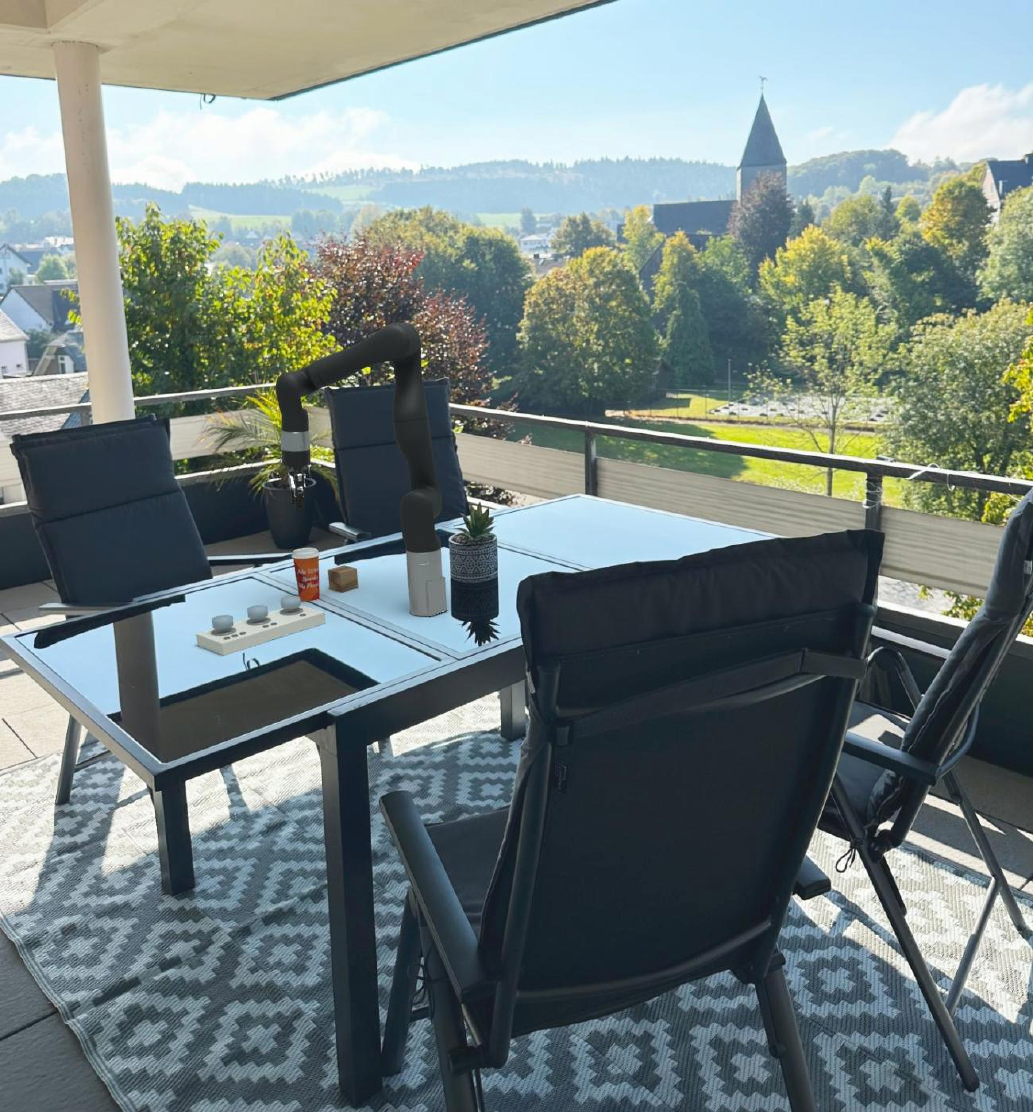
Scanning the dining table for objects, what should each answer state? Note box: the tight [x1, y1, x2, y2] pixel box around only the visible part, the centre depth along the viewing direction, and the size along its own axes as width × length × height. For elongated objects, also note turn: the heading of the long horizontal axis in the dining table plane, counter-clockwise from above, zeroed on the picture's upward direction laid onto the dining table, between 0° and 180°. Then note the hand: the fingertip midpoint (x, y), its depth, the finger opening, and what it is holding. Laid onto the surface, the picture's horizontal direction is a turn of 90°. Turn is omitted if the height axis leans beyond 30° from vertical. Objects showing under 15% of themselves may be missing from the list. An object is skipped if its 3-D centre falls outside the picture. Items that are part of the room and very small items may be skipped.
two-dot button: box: [246, 604, 269, 619], centre depth 253 cm, size 5×5×2 cm
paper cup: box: [291, 547, 321, 602], centre depth 281 cm, size 8×8×14 cm
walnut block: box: [327, 565, 359, 594], centre depth 290 cm, size 6×6×6 cm
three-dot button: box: [211, 614, 234, 629], centre depth 246 cm, size 5×5×2 cm
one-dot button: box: [279, 595, 302, 609], centre depth 260 cm, size 5×5×2 cm
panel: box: [195, 605, 326, 656], centre depth 253 cm, size 12×30×3 cm, turn 137°
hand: (297, 507), depth 269 cm, fingers open, 8 cm apart
